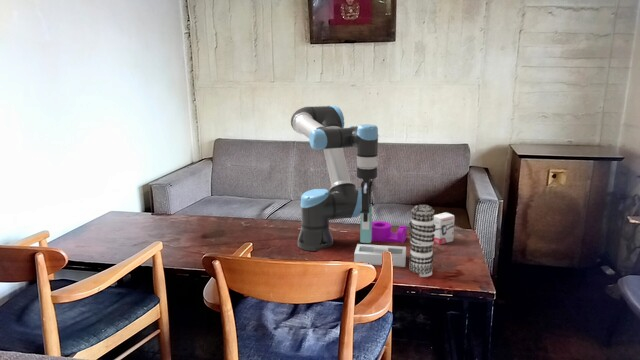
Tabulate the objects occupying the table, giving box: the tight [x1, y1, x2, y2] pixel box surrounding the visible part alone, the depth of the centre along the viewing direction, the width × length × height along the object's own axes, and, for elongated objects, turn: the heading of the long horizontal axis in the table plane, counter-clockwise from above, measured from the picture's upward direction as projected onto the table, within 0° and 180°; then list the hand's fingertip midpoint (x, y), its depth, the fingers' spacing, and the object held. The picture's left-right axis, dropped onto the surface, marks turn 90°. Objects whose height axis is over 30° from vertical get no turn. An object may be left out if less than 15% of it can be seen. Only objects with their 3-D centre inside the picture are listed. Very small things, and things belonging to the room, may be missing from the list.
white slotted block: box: [353, 243, 407, 268], centre depth 181 cm, size 19×10×5 cm, turn 79°
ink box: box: [433, 211, 456, 246], centre depth 201 cm, size 8×5×12 cm, turn 123°
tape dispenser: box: [371, 220, 408, 243], centre depth 206 cm, size 16×10×6 cm, turn 67°
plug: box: [359, 203, 375, 244], centre depth 179 cm, size 5×4×14 cm
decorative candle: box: [408, 204, 436, 278], centre depth 169 cm, size 9×9×25 cm
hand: (366, 226), depth 179 cm, fingers closed on plug, 4 cm apart
